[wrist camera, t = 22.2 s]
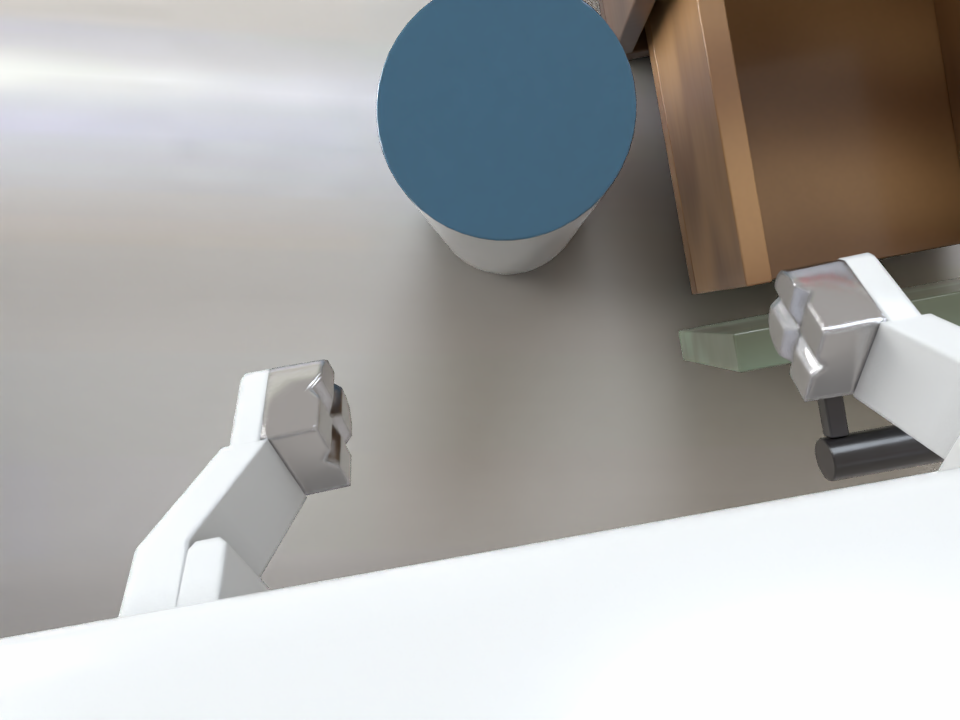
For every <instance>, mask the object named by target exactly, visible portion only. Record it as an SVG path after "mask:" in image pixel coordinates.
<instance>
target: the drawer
mask: <svg viewBox="0 0 960 720" xmlns="http://www.w3.org/2000/svg"><path fill="white" fill-rule="evenodd" d="M645 32H646V37H647V43H648V49H649V54H650V60H651V65H652V71H653V77H654V82H655V88H656V94H657V99H658V105H659V111H660V116H661V122H662V128H663V133H664V139H665V145H666V150H667V156H668V161H669V167H670V173H671V178H672V184H673V190H674V195H675V201H676V207H677V212H678V218H679V224H680V229H681V235H682V241H683V246H684V252H685V257H686V263H687V269H688V274H689V280H690V286H691V291H692V294H701V293H708V292H715V291H721V290H728V289H735V288H742V287H748V286H754V285H759V284H764V283H769V282H771V281H772V280H774V279H776V276H777V275H778V273H779V272H780V270H785V269H790V268H794V267H799V266H804V265H809V264H814V263H819V262H824V261H829V260H834V259H839V258H843V257H848V256H853V255H858V254H863V253H871V254H873V255H874V256H875V257H876V258H877V259H883V258H888V257H894V256H899V255H904V254H909V253H915V252H920V251H925V250H930V249H935V248H941V247H946V246H951V245H956V244H960V0H656V2H655V4H654V6H653V8H652V10H651V12H650V15H649V17H648V19H647V21H646V23H645ZM902 291H903V292H904V293H905V295H906V296H907V297H908V298H909V300H910V301H911V302H912V303H913V305H914V306H915V307H916V308H917V310H918V311H919V312H920V313H921V315H924V314H930V313H931V314H933V315H935V316H937V317H939V318H942V319H944V320H946V321H948V322H951V323H953V324H955V325H957V326H960V278H956V279H950V280H945V281H940V282H935V283H929V284H924V285H919V286H913V287H908V288H903V289H902ZM768 317H769V314H765V315H760V316H755V317H749V318H744V319H739V320H734V321H728V322H723V323H718V324H712V325H707V326H702V327H697V328H691V329H686V330H681V331H679V338H680V344H681V349H682V355H683V359H684V360H686V361H690V362H695V363H699V364H704V365H709V366H713V367H718V368H722V369H727V370H731V371H736V372H741V373H742V372H747V371H753V370H758V369H764V368H769V367H774V366H780V365H785V364H791V363H792V362H790V361H789V360H787V359H785V358H783V357H781V356H780V355H779V354H778V352H777V351H776V349H775V347H774V345H773V342H772V339H771V336H770V332H769V323H768ZM818 404H819V410H820V416H821V422H822V428H823V434H824V436H827V437H824V438H820V439H818V440H817V442H816V445H815V454H816V459H817V463H818V466H819V468H820V470H821V472H822V474H823V475H824V477H825V478H826V479H827V480H829V481H836V480H841V479H847V478H853V477H858V476H864V475H870V474H875V473H881V472H887V471H892V470H898V469H904V468H909V467H915V466H921V465H926V464H932V463H938V462H943V461H944V459H943V458H942V457H940V456H939V455H937V454H936V453H934V452H933V451H931V450H930V449H928V448H927V447H926V446H924V445H923V444H921V443H920V442H918V441H917V440H915V439H914V438H913V437H911V436H910V435H908V434H907V433H905V432H904V431H902V430H901V429H899V428H898V427H897V426H895V425H891V426H886V427H880V428H875V429H869V430H863V431H858V432H852V433H849V431H848V425H847V419H846V413H845V407H844V401H843V396H838V397H832V398H825V399H819V400H818Z"/></svg>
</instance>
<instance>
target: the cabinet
mask: <svg viewBox="0 0 960 720" xmlns="http://www.w3.org/2000/svg"><path fill="white" fill-rule="evenodd" d="M655 2H656V0H599V6H600V11H601V17H602V18H603V19H604V20H605V21H606V22H607V24H608V25H609V26H610V28H611V29H612V30H613V32H614V33H615V34H616V36H617V38H618V40H619V42H620V43H621V45H622V47H623V49H624V51H625V54H626V56H627V59H628V60H632V59H637V58H641V57H646V56H650V54H649V49H648V43H647V37H646V32H645V23H646V21H647V19H648V17H649V15H650V12H651V10H652V8H653V6H654V4H655Z"/></svg>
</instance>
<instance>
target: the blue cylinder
mask: <svg viewBox="0 0 960 720" xmlns="http://www.w3.org/2000/svg"><path fill="white" fill-rule="evenodd" d="M376 122H377V129H378V137H379V140H380V144H381V148H382V152H383V155H384V157H385V159H386V162H387V164H388V167H389V169H390V171H391V173H392V174H393V176H394V178H395V180H396V181H397V183H398V185H399V186H400V187H401V188H402V190H403V191H404V192H405V194H406V195H407V196H408V198H409V199H410V200H411V201H412V203H413V204H414V205H415V206H416V208H417V209H418V210H419V211H420V213H421V214H422V215H423V216H424V218H425V219H426V220H427V221H428V222H429V224H430V225H431V226H432V227H433V229H434V230H435V231H436V232H437V234H438V235H439V236H440V237H441V239H442V240H443V241H444V242H445V244H446V245H447V246H448V247H449V249H450V250H451V251H452V252H453V253H454V254H455V255H456V256H458V257H459V258H460V259H461V260H463V261H464V262H466V263H467V264H469V265H471V266H472V267H475V268H477V269H479V270H482V271H486V272H489V273H494V274H518V273H523V272H527V271H531V270H533V269H536V268H538V267H540V266H542V265H544V264H545V263H547V262H549V261H550V260H551V259H553V258H554V257H555V256H557V255H558V254H559V253H560V252H561V251H562V250H563V249H564V247H565V246H566V245H567V243H568V242H569V241H570V240H571V238H572V237H573V236H574V234H575V233H576V232H577V230H578V229H579V228H580V226H581V225H582V224H583V222H584V221H585V220H586V218H587V217H588V216H589V214H590V213H591V212H592V210H593V209H594V208H595V206H596V205H597V204H598V202H599V201H600V200H601V198H602V197H603V196H604V194H605V193H606V192H607V190H608V189H609V188H610V186H611V185H612V184H613V182H614V181H615V179H616V177H617V176H618V174H619V172H620V170H621V169H622V167H623V164H624V162H625V160H626V157H627V155H628V153H629V150H630V146H631V143H632V139H633V135H634V129H635V122H636V91H635V83H634V79H633V75H632V71H631V67H630V64H629V61H628V59H627V56H626V54H625V51H624V49H623V47H622V45H621V43H620V42H619V40H618V38H617V36H616V34H615V33H614V32H613V30H612V29H611V28H610V26H609V25H608V24H607V22H606V21H605V20H604V19H603V18H602V17H601V16H600V15H599V14H598V13H597V12H596V11H595V10H594V9H593V8H592V7H591V6H590V5H588V4H587V3H586V2H584V1H583V0H432V1H431V2H430V3H428V4H427V5H426V6H425V7H423V8H422V9H421V10H420V11H419V12H418V13H417V14H416V15H415V16H414V17H413V18H412V19H411V20H410V21H409V22H408V23H407V25H406V26H405V27H404V29H403V30H402V32H401V33H400V34H399V36H398V37H397V39H396V41H395V42H394V44H393V46H392V48H391V50H390V51H389V54H388V56H387V59H386V61H385V64H384V66H383V69H382V73H381V77H380V80H379V84H378V91H377V100H376Z"/></svg>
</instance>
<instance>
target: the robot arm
mask: <svg viewBox="0 0 960 720" xmlns="http://www.w3.org/2000/svg"><path fill="white" fill-rule="evenodd" d="M774 288H775V290H776V292H777V293H778V295H779V297H778V298H777V299H776V300H775V301H774V302H773V303H772V304H771V305H770V310H769V317H768V323H769V332H770V336H771V339H772V342H773V345H774V347H775V349H776V351H777V352H778V354H779V355H780V356H781V357H783V358H785V359H787V360H789V361H790V362H792V364H791V368H790V372H789V375H790V376H791V378H792V380H793V382H794V384H795V385H796V387H797V389H798V391H799V393H800V394H801V396H802V398H803V400H804V402H807V401H813V400H819V399H825V398H832V397H838V396H844V395H851V394H854V395H853V397H855V398H856V399H857V400H859V401H860V402H862V403H863V404H865V405H866V406H868V407H869V408H871V409H872V410H873V411H875V412H876V413H878V414H879V415H881V416H882V417H884V418H885V419H886V420H888V421H889V422H891V423H892V424H894V425H895V426H897V427H898V428H899V429H901V430H902V431H904V432H905V433H907V434H908V435H910V436H911V437H913V438H914V439H915V440H917V441H918V442H920V443H921V444H923V445H924V446H926V447H927V448H928V449H930V450H931V451H933V452H934V453H936V454H937V455H939V456H940V457H942V458H943V459H944V461H943V462H942V464H941V466H940V467H939V469H938V471H935V472H930V473H924V474H919V475H913V476H907V477H902V478H896V479H891V480H885V481H879V482H874V483H868V484H863V485H857V486H851V487H846V488H840V489H835V490H829V491H823V492H818V493H812V494H807V495H801V496H796V497H790V498H784V499H779V500H773V501H768V502H762V503H757V504H751V505H745V506H740V507H734V508H729V509H723V510H718V511H712V512H707V513H701V514H695V515H690V516H684V517H679V518H673V519H668V520H662V521H656V522H651V523H645V524H640V525H634V526H628V527H623V528H617V529H612V530H606V531H600V532H595V533H589V534H584V535H578V536H572V537H567V538H561V539H555V540H550V541H544V542H539V543H533V544H527V545H522V546H516V547H511V548H505V549H499V550H494V551H488V552H483V553H477V554H471V555H466V556H460V557H455V558H449V559H443V560H438V561H432V562H427V563H421V564H415V565H410V566H404V567H399V568H393V569H387V570H382V571H376V572H371V573H365V574H359V575H354V576H348V577H343V578H337V579H331V580H326V581H320V582H315V583H309V584H303V585H298V586H292V587H287V588H281V589H275V590H270V589H269V588H268V587H267V585H266V584H265V583H264V582H263V581H262V580H261V579H260V577H261V575H262V574H263V572H264V570H265V568H266V567H267V565H268V563H269V562H270V560H271V558H272V556H273V555H274V553H275V551H276V550H277V548H278V546H279V545H280V543H281V541H282V539H283V538H284V536H285V534H286V533H287V531H288V529H289V527H290V526H291V524H292V522H293V521H294V519H295V517H296V516H297V514H298V512H299V510H300V509H301V507H302V505H303V504H304V502H305V500H306V498H307V497H306V495H310V494H314V493H319V492H324V491H329V490H333V489H338V488H343V487H347V486H351V454H350V452H349V450H348V448H347V446H346V443H347V442H348V440H349V439H350V437H351V436H352V420H351V414H350V407H349V404H348V401H347V398H346V395H345V393H344V391H343V389H342V388H341V387H339V386H338V385H336V384H334V371H333V369H332V367H331V365H330V363H329V361H328V360H319V361H313V362H307V363H301V364H295V365H289V366H283V367H277V368H272V369H269V370H263V371H257V372H251V373H245V375H244V376H243V378H242V379H241V381H240V387H239V393H238V399H237V405H236V411H235V417H234V423H233V429H232V435H231V441H230V446H228V447H223V448H221V449H220V451H219V452H218V453H217V454H216V455H215V456H214V458H213V459H212V460H211V461H210V462H209V464H208V465H207V466H206V467H205V468H204V469H203V471H202V472H201V473H200V474H199V475H198V477H197V478H196V479H195V480H194V481H193V482H192V484H191V485H190V486H189V487H188V488H187V490H186V491H185V492H184V493H183V494H182V495H181V497H180V498H179V499H178V500H177V501H176V503H175V504H174V505H173V506H172V507H171V508H170V510H169V511H168V512H167V513H166V514H165V516H164V517H163V518H162V519H161V520H160V521H159V523H158V524H157V525H156V526H155V527H154V529H153V530H152V531H151V532H150V533H149V535H148V536H147V537H146V538H145V539H144V540H143V542H142V543H141V544H140V545H139V546H138V548H137V549H136V550H135V553H134V557H133V561H132V565H131V569H130V573H129V577H128V581H127V585H126V589H125V593H124V597H123V601H122V605H121V609H120V613H119V617H118V618H113V619H107V620H101V621H96V622H90V623H85V624H79V625H73V626H68V627H62V628H57V629H51V630H45V631H40V632H34V633H29V634H23V635H18V636H12V637H6V638H1V639H0V720H960V326H957V325H955V324H953V323H951V322H948V321H946V320H944V319H942V318H939V317H937V316H935V315H933V314H931V313H930V314H924V315H921V313H920V312H919V311H918V310H917V308H916V307H915V306H914V305H913V303H912V302H911V301H910V300H909V298H908V297H907V296H906V295H905V293H904V292H903V291H902V289H901V288H900V287H899V286H898V284H897V283H896V282H895V281H894V279H893V278H892V277H891V276H890V274H889V273H888V272H887V271H886V269H885V268H884V267H883V266H882V264H881V263H880V262H879V260H878V259H877V258H876V257H875V256H874V255H873V254H871V253H863V254H858V255H853V256H848V257H843V258H839V259H834V260H829V261H824V262H819V263H814V264H809V265H804V266H799V267H794V268H790V269H785V270H780V272H779V273H778V275H777V276H776V280H775V285H774Z"/></svg>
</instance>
